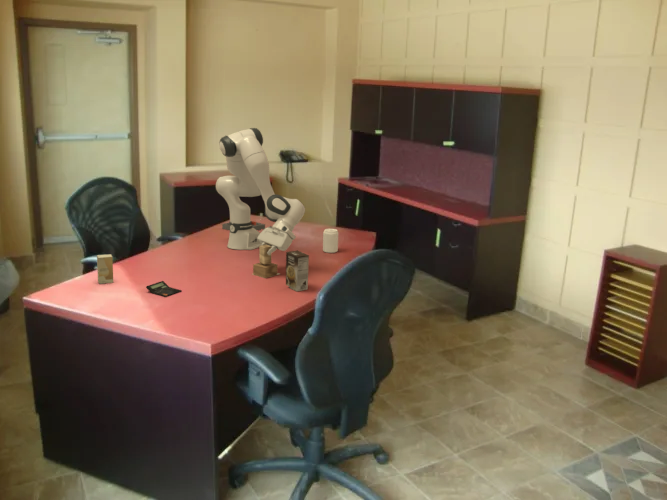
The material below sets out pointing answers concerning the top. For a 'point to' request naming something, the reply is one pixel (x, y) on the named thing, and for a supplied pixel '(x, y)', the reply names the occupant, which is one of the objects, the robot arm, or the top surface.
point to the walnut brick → (265, 270)
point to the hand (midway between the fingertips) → (264, 252)
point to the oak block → (264, 254)
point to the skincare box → (105, 268)
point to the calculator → (162, 289)
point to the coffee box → (297, 270)
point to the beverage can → (330, 240)
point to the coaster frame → (257, 226)
